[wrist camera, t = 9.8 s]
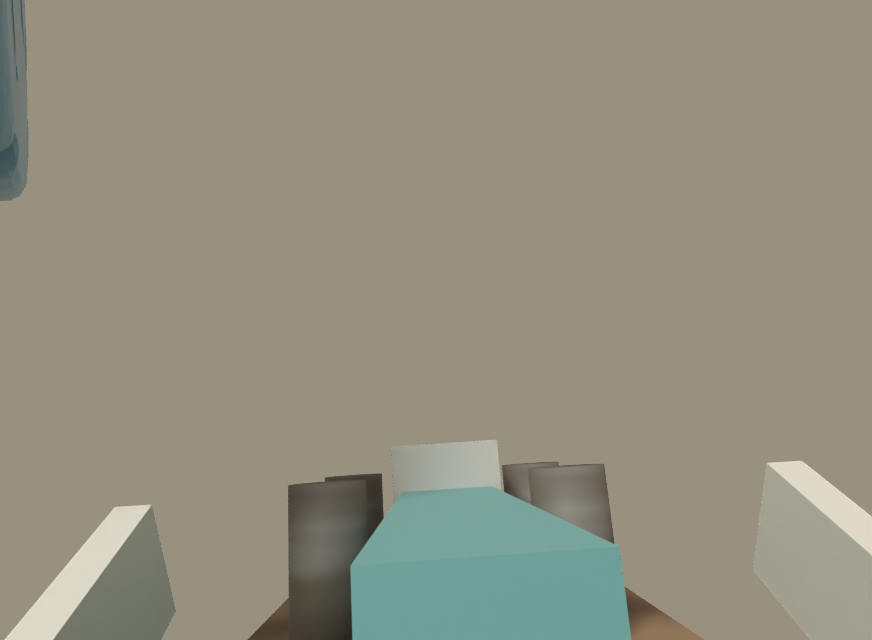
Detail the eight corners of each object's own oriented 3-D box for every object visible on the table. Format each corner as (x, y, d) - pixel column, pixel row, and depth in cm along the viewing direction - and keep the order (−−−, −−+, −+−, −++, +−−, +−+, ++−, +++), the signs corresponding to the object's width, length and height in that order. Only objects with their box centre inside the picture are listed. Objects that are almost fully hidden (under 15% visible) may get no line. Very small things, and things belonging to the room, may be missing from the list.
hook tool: (717, 1054, 5) (626, 409, 7) (332, 1094, 5) (320, 430, 7) (490, 584, 25) (479, 444, 26) (407, 590, 25) (400, 449, 26)
